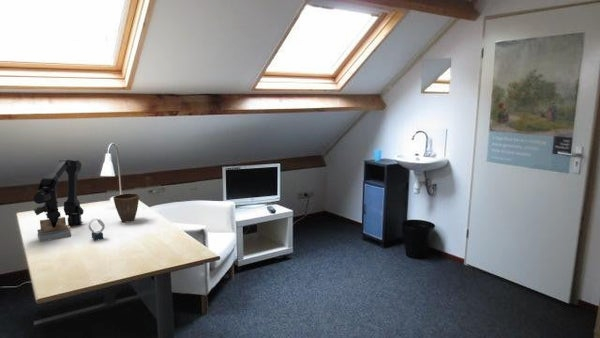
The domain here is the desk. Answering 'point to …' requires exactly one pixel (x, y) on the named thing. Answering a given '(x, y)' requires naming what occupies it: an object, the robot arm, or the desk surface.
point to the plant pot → (126, 206)
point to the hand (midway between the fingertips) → (53, 226)
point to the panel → (47, 224)
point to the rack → (54, 234)
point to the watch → (97, 234)
